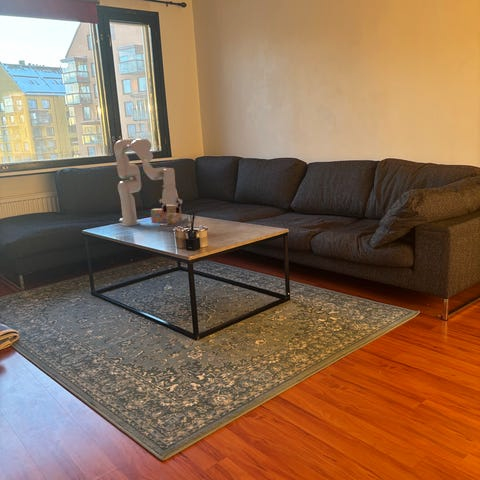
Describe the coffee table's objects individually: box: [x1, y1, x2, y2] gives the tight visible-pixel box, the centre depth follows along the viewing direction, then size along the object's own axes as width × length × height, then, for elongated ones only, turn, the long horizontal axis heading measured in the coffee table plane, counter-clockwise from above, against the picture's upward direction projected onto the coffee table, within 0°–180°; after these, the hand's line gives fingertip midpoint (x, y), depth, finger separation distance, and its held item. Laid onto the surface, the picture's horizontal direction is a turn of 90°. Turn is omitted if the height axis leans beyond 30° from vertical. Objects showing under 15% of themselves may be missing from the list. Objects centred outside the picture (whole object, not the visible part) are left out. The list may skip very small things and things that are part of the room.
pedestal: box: [166, 213, 179, 225], centre depth 327 cm, size 6×6×7 cm
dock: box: [157, 217, 189, 232], centre depth 328 cm, size 14×16×6 cm
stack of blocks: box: [149, 204, 183, 223], centre depth 353 cm, size 21×6×12 cm, turn 76°
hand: (171, 212), depth 326 cm, fingers open, 9 cm apart
